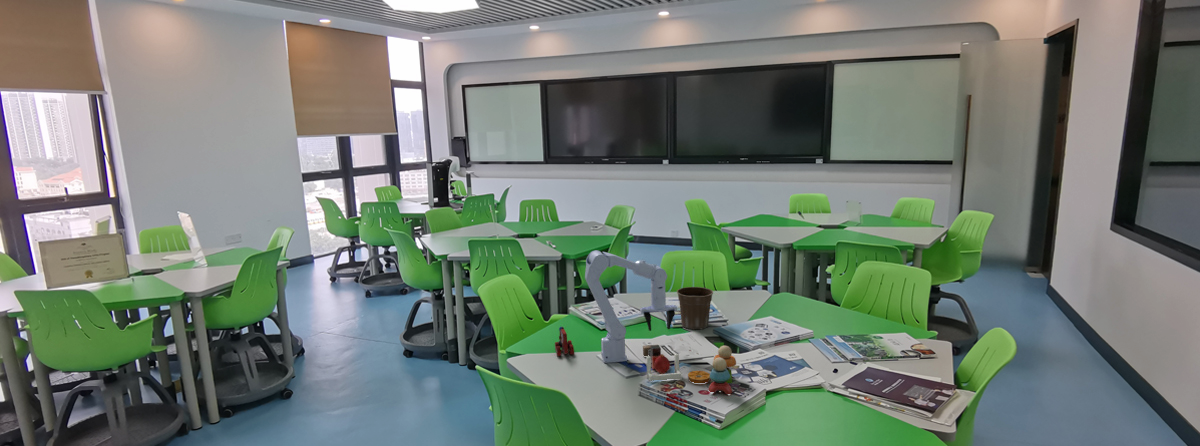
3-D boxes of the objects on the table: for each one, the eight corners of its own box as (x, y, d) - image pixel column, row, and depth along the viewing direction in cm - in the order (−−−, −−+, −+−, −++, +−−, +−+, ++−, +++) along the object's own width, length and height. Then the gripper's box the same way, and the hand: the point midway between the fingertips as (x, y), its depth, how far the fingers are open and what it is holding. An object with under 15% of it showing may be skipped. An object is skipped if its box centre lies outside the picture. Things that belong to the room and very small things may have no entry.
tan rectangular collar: (644, 357, 233) (644, 348, 233) (643, 355, 236) (642, 345, 235) (659, 356, 234) (659, 346, 234) (658, 354, 237) (658, 344, 236)
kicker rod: (652, 369, 221) (652, 352, 220) (642, 351, 240) (642, 335, 239) (665, 368, 222) (664, 351, 221) (654, 350, 240) (653, 334, 239)
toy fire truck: (570, 346, 249) (569, 323, 247) (575, 357, 237) (573, 332, 235) (554, 348, 248) (552, 324, 246) (557, 359, 236) (556, 334, 234)
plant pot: (718, 322, 271) (718, 288, 269) (705, 333, 258) (704, 298, 255) (686, 318, 280) (685, 285, 277) (671, 328, 266) (670, 293, 264)
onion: (652, 372, 219) (652, 351, 218) (667, 370, 220) (667, 350, 219) (656, 378, 214) (656, 357, 212) (672, 376, 214) (671, 356, 213)
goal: (649, 383, 210) (648, 361, 209) (646, 377, 215) (646, 356, 214) (682, 380, 211) (681, 358, 210) (678, 374, 216) (678, 353, 215)
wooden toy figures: (687, 374, 216) (686, 342, 214) (734, 374, 214) (734, 342, 213) (689, 396, 199) (689, 361, 197) (741, 397, 197) (741, 361, 195)
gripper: (642, 300, 229) (643, 334, 232) (678, 297, 231) (679, 331, 233) (638, 295, 236) (639, 328, 239) (674, 293, 238) (674, 325, 240)
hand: (659, 329), depth 236 cm, fingers open, 7 cm apart
